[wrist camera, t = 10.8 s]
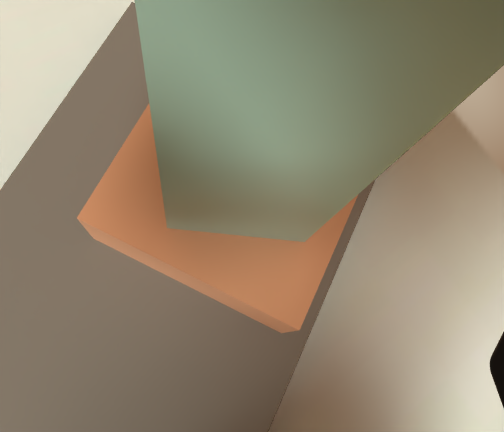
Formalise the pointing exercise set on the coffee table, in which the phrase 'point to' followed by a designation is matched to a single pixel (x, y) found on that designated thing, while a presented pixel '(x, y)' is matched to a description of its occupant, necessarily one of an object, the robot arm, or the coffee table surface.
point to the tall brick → (300, 100)
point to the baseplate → (141, 280)
